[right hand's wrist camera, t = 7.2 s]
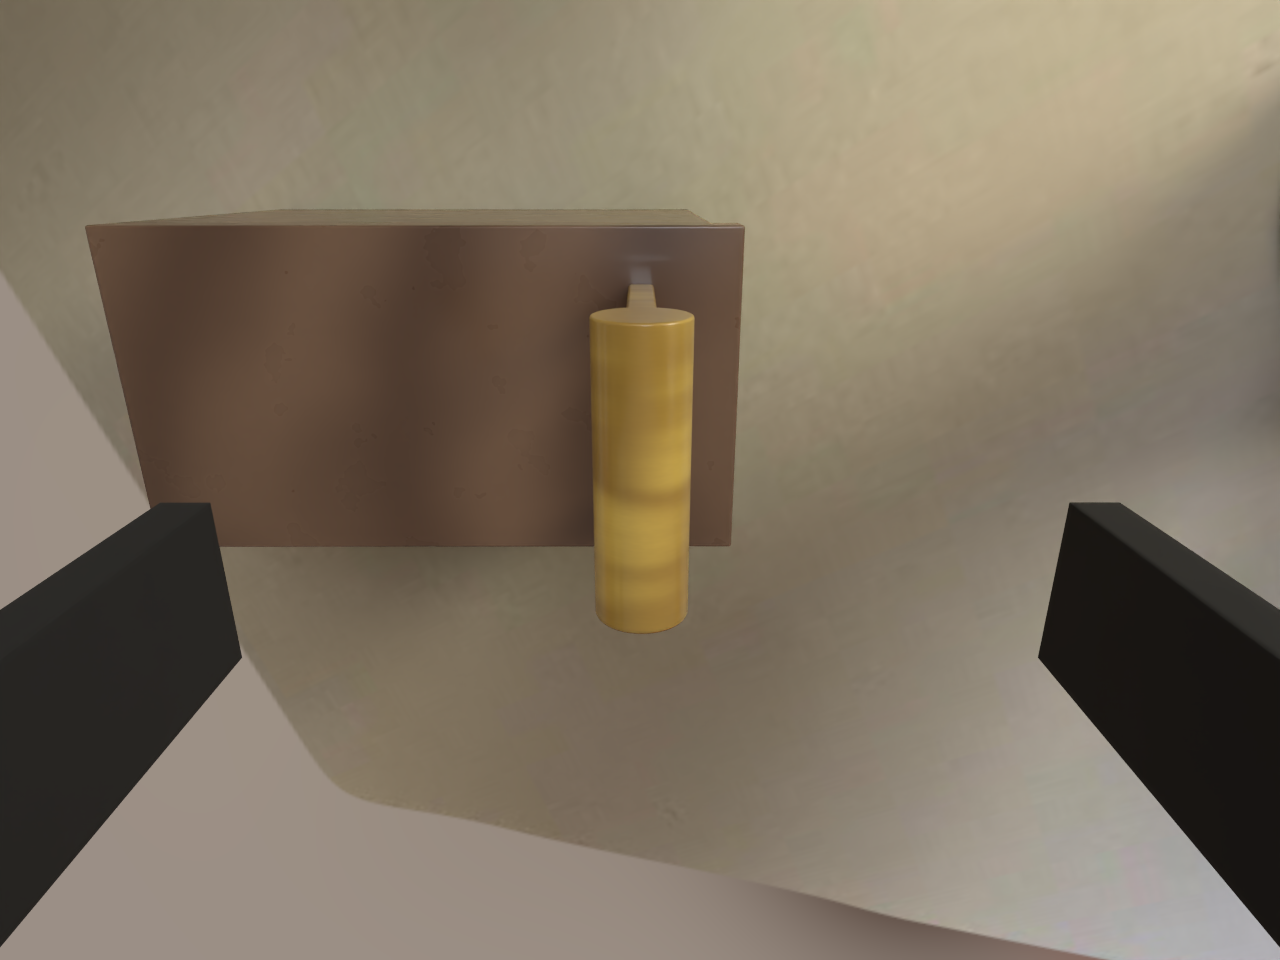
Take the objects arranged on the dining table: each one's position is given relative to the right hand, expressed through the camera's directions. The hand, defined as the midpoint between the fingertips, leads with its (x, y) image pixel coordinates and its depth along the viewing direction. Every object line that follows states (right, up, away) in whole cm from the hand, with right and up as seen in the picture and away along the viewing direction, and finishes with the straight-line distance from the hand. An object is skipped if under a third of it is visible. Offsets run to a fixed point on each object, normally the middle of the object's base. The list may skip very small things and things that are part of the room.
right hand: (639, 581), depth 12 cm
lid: (-6, +4, +12) cm, 14 cm away
